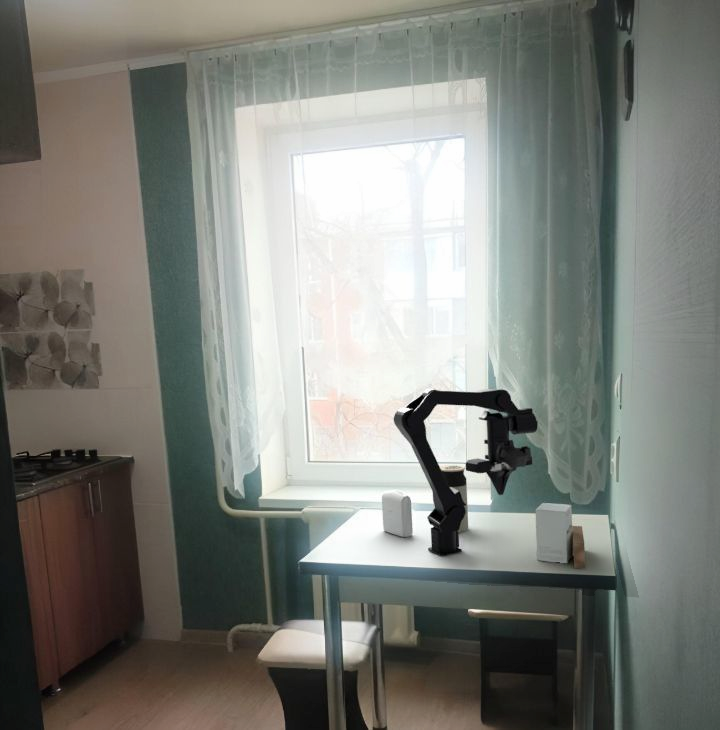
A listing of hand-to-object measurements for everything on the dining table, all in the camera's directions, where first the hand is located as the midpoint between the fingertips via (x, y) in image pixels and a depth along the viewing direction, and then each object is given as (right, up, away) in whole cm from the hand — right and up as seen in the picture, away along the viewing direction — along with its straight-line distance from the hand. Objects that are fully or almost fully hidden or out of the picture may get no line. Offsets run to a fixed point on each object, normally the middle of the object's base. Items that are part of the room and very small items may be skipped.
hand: (500, 494), depth 164 cm
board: (+16, -13, -14) cm, 25 cm away
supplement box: (+11, -13, -13) cm, 21 cm away
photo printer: (-26, -14, +14) cm, 33 cm away
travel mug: (-10, -13, +15) cm, 22 cm away
